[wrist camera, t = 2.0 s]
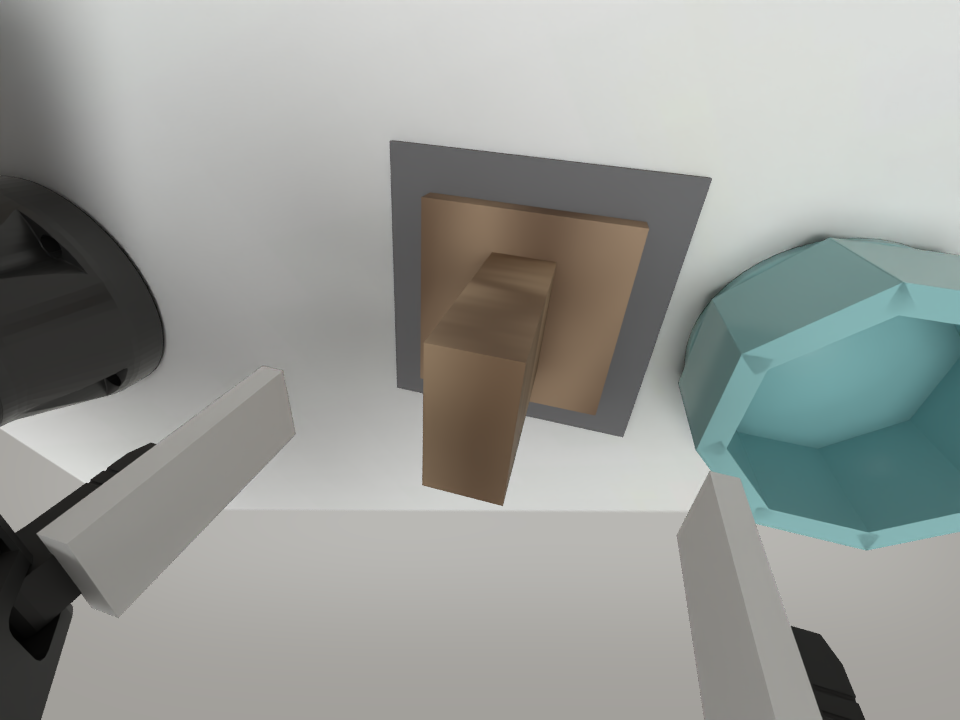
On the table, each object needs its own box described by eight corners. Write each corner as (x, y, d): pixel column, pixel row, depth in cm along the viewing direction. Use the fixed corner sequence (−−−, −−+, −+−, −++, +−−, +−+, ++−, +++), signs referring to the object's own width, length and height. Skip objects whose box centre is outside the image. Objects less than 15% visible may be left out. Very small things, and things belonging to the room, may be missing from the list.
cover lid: (427, 367, 26) (339, 498, 17) (430, 192, 20) (305, 256, 12) (595, 402, 24) (590, 566, 16) (646, 222, 19) (681, 321, 10)
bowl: (656, 420, 24) (670, 503, 19) (734, 219, 18) (783, 264, 13) (877, 466, 22) (956, 572, 17) (1043, 260, 16) (1238, 330, 11)
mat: (399, 385, 27) (397, 387, 27) (392, 140, 20) (389, 140, 20) (622, 433, 25) (623, 437, 25) (710, 177, 18) (712, 178, 17)
